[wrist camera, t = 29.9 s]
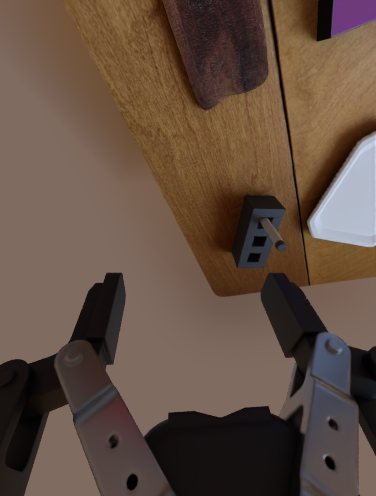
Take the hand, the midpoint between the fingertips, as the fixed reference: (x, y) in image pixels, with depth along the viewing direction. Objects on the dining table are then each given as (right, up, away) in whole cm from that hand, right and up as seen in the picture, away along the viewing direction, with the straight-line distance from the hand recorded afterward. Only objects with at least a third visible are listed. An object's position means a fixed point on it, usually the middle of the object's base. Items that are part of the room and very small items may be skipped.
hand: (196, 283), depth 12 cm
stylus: (+13, +9, +29) cm, 33 cm away
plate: (+34, +12, +29) cm, 46 cm away
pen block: (+12, +6, +31) cm, 34 cm away
